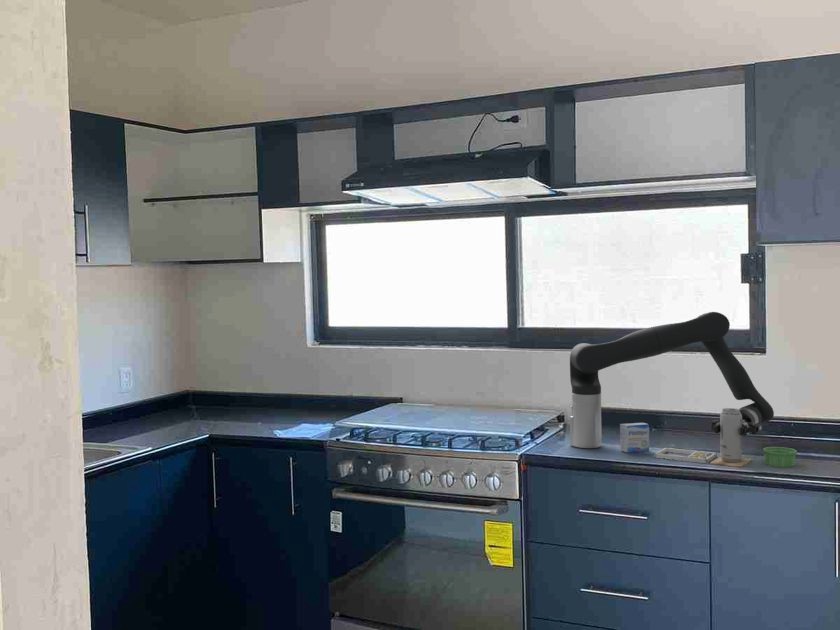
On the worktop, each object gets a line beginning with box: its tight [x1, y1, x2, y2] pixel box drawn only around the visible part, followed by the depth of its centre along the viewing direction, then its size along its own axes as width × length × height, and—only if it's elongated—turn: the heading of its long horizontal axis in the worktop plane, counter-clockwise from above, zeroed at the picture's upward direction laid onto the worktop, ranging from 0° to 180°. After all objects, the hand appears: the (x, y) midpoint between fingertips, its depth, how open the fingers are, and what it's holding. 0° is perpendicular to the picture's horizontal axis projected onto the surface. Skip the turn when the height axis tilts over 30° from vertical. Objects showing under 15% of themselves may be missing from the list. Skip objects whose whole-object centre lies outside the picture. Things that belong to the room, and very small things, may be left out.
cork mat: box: [709, 455, 753, 469], centre depth 244 cm, size 9×11×1 cm
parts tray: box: [653, 447, 718, 464], centre depth 251 cm, size 16×10×1 cm, turn 55°
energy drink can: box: [719, 407, 743, 462], centre depth 244 cm, size 6×6×15 cm
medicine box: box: [619, 422, 650, 454], centre depth 261 cm, size 8×4×9 cm, turn 105°
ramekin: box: [762, 446, 798, 468], centre depth 240 cm, size 9×9×4 cm
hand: (728, 430), depth 241 cm, fingers open, 6 cm apart
